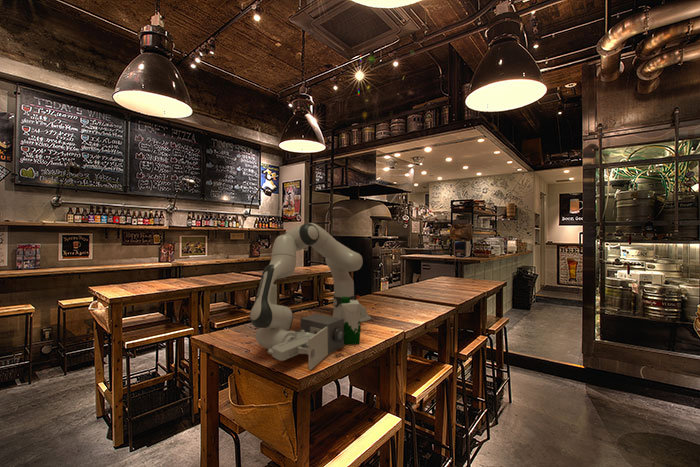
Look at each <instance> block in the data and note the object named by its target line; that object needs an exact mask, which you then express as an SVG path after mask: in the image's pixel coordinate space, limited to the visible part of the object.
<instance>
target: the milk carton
mask: <svg viewBox="0 0 700 467" xmlns="http://www.w3.org/2000/svg"><path fill="white" fill-rule="evenodd" d="M359 303H360V302H359V299H356V300H350V297H341V303H340V304H341V307H340V318H341V319H343V320H344V346H347V345H348V346H349V345H352V346H353V345H360V340H361V333H362V331H361V328H362V327H361V326H362V325H361V323H362V322H361V320H360V305H359Z"/></svg>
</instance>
